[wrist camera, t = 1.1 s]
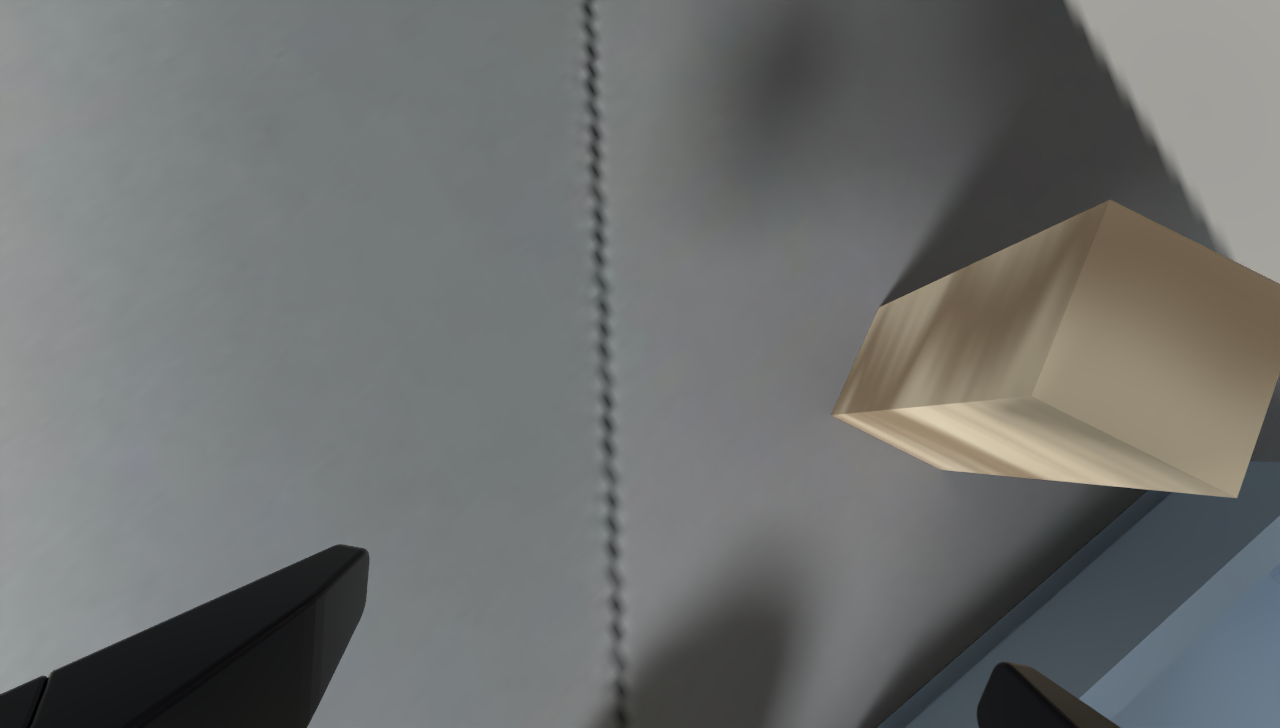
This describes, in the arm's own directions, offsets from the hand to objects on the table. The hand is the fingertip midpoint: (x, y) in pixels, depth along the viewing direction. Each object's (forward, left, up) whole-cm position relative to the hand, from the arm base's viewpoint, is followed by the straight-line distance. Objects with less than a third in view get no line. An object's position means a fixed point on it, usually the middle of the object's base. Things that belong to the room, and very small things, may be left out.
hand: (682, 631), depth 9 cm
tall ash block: (+3, -11, -14) cm, 18 cm away
